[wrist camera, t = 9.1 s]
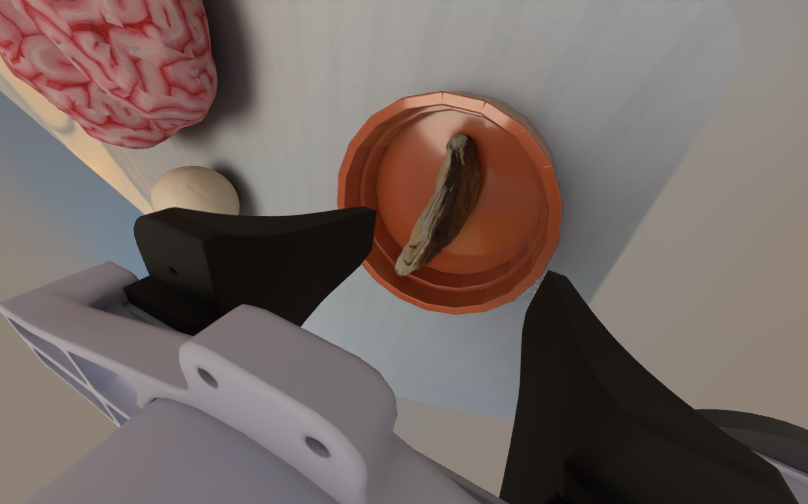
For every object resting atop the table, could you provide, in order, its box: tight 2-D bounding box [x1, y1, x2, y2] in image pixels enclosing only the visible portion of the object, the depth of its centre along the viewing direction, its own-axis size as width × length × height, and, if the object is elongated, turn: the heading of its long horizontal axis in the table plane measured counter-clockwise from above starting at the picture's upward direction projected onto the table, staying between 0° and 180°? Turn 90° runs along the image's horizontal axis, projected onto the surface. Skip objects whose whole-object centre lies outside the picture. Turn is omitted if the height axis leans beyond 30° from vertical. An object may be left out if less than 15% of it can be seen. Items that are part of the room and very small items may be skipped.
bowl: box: [337, 91, 563, 315], centre depth 19 cm, size 14×14×4 cm
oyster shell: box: [395, 132, 480, 277], centre depth 20 cm, size 6×4×10 cm
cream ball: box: [151, 166, 240, 215], centre depth 28 cm, size 7×7×7 cm
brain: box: [0, 0, 217, 149], centre depth 20 cm, size 19×18×10 cm
